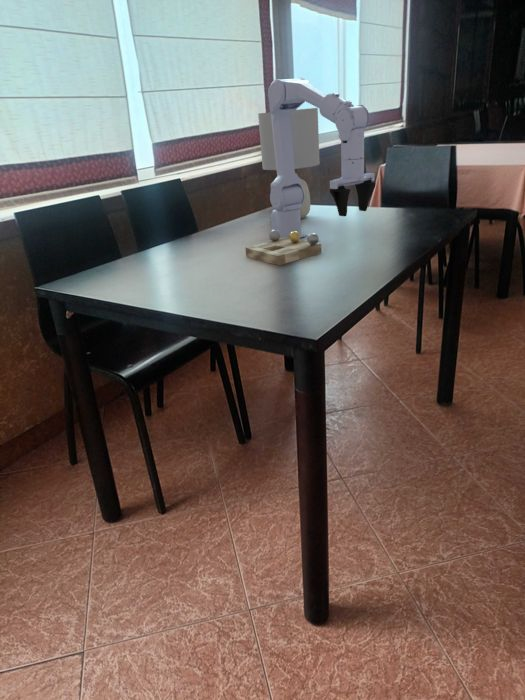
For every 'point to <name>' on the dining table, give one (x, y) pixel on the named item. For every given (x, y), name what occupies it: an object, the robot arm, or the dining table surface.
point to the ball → (294, 236)
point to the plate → (282, 251)
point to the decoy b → (312, 238)
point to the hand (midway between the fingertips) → (352, 213)
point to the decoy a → (274, 235)
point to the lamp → (294, 145)
